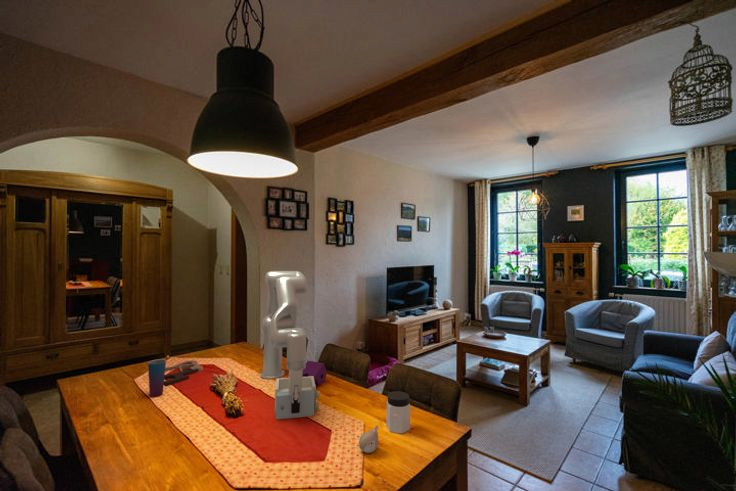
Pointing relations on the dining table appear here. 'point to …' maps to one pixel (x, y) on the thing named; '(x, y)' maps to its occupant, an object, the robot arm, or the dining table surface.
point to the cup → (156, 377)
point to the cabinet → (307, 384)
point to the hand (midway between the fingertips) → (295, 409)
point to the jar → (398, 412)
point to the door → (285, 402)
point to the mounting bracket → (315, 371)
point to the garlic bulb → (369, 441)
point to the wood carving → (181, 372)
